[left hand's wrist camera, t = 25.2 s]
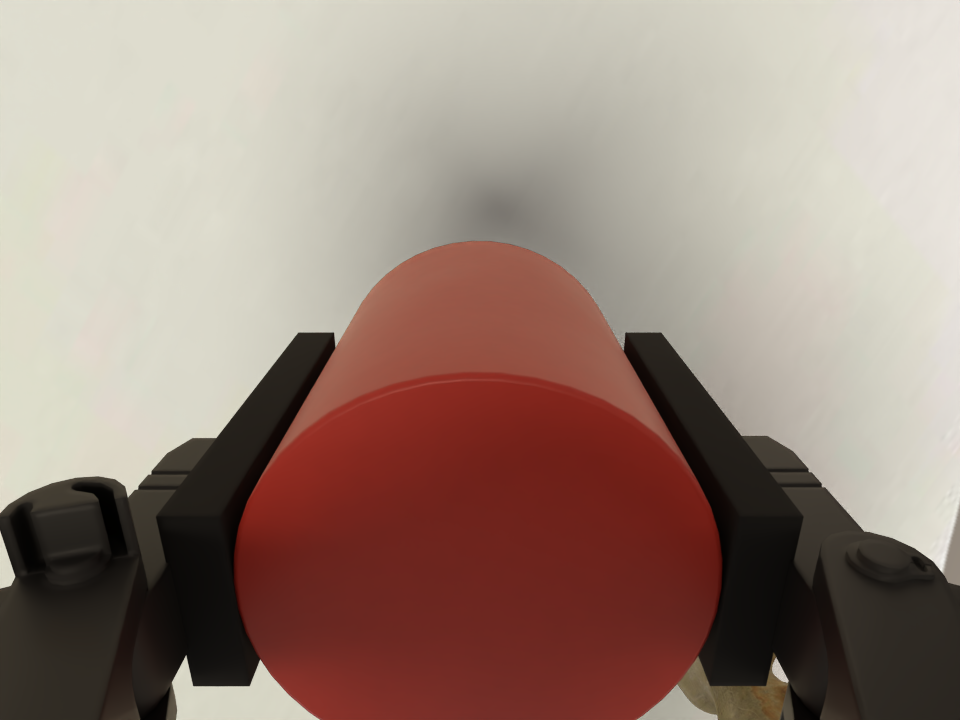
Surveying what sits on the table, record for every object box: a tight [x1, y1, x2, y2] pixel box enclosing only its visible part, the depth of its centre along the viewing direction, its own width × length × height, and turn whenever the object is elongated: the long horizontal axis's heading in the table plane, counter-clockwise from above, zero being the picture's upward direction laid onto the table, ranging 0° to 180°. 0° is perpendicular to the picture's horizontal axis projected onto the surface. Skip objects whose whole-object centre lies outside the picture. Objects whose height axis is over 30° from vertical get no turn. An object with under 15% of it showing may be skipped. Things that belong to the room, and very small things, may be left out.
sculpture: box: [678, 653, 788, 720], centre depth 33 cm, size 6×7×15 cm
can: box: [234, 241, 723, 720], centre depth 12 cm, size 6×6×7 cm
